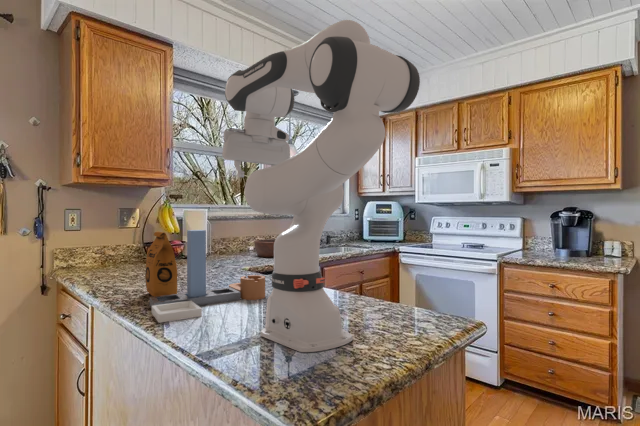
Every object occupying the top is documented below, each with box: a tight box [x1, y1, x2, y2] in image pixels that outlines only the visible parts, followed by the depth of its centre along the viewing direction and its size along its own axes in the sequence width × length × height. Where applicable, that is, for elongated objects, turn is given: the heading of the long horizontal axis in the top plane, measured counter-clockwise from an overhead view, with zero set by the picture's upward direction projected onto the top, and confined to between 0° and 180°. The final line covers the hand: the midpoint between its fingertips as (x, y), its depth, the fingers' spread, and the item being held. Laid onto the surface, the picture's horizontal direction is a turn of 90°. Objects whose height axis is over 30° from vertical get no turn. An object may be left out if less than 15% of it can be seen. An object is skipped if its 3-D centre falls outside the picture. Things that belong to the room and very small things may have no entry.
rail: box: [149, 287, 242, 309], centre depth 116 cm, size 9×26×2 cm, turn 124°
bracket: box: [228, 274, 266, 301], centre depth 127 cm, size 18×8×7 cm, turn 36°
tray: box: [151, 301, 203, 324], centre depth 102 cm, size 11×11×2 cm
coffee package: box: [144, 230, 179, 297], centre depth 127 cm, size 10×12×22 cm
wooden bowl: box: [254, 238, 276, 258], centre depth 242 cm, size 25×25×10 cm
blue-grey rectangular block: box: [186, 229, 207, 298], centre depth 116 cm, size 5×5×23 cm
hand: (255, 178), depth 108 cm, fingers open, 8 cm apart
